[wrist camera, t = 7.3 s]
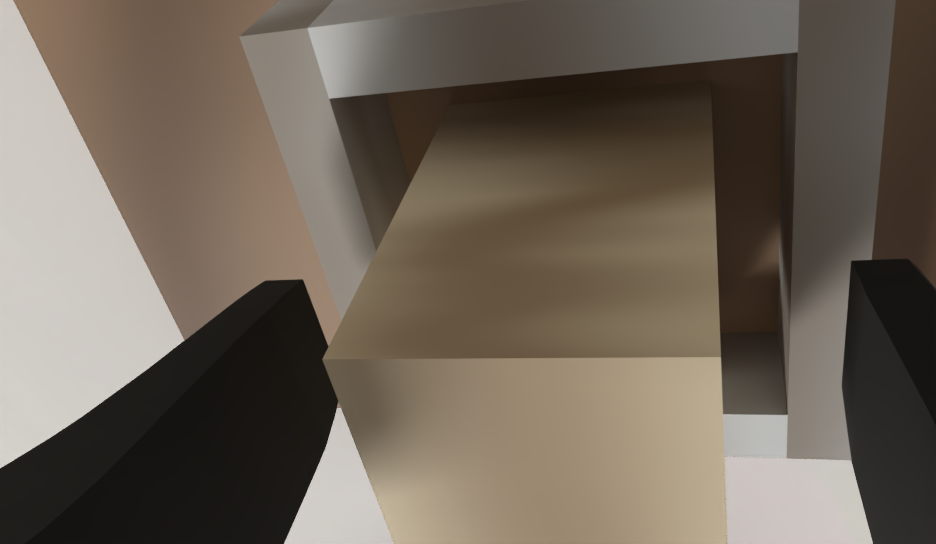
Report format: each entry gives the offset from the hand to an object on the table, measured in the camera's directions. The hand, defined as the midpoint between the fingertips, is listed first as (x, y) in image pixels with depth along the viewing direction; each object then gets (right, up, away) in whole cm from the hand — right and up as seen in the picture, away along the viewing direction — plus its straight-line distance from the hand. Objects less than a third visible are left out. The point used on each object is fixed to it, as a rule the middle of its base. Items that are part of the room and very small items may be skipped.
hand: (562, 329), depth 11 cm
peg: (+1, +2, +3) cm, 3 cm away
